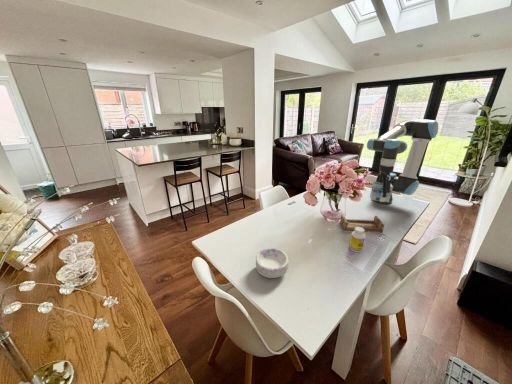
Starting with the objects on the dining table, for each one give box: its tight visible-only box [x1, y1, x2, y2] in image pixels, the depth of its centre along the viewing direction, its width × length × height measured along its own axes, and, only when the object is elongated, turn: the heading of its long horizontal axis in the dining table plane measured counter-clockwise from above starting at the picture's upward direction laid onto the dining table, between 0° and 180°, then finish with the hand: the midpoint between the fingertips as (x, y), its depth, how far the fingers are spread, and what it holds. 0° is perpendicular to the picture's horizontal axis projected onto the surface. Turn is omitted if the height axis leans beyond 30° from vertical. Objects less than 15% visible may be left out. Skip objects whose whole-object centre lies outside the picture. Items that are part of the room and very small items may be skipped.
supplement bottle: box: [349, 227, 366, 253], centre depth 113 cm, size 7×7×13 cm
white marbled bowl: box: [255, 247, 289, 279], centre depth 99 cm, size 15×15×8 cm
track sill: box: [339, 213, 385, 234], centre depth 135 cm, size 11×22×6 cm, turn 83°
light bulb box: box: [369, 181, 393, 202], centre depth 135 cm, size 11×7×11 cm, turn 69°
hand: (379, 198), depth 137 cm, fingers closed on light bulb box, 8 cm apart
